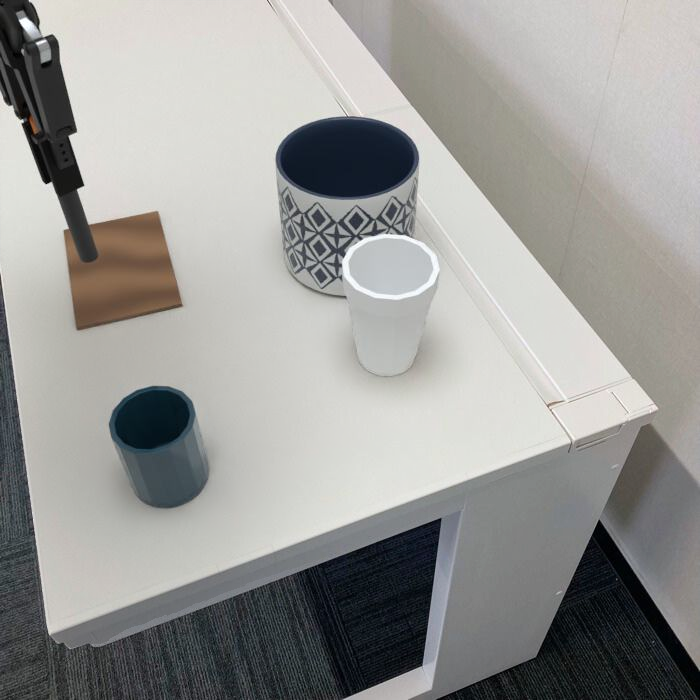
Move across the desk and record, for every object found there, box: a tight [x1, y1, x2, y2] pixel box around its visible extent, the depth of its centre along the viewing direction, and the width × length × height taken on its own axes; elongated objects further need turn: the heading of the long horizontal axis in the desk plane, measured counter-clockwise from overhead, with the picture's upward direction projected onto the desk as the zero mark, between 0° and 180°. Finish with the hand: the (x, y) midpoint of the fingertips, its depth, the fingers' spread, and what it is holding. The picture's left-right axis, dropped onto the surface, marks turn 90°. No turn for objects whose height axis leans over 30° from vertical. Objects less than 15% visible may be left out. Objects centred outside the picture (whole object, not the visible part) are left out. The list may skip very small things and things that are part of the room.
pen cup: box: [108, 385, 210, 509], centre depth 71 cm, size 7×7×9 cm
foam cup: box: [342, 234, 441, 377], centre depth 79 cm, size 10×9×13 cm
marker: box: [29, 115, 98, 263], centre depth 77 cm, size 2×2×17 cm
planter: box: [274, 115, 420, 297], centre depth 90 cm, size 16×16×14 cm
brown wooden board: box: [63, 210, 184, 331], centre depth 94 cm, size 18×12×1 cm, turn 18°
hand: (63, 183), depth 76 cm, fingers closed on marker, 2 cm apart
